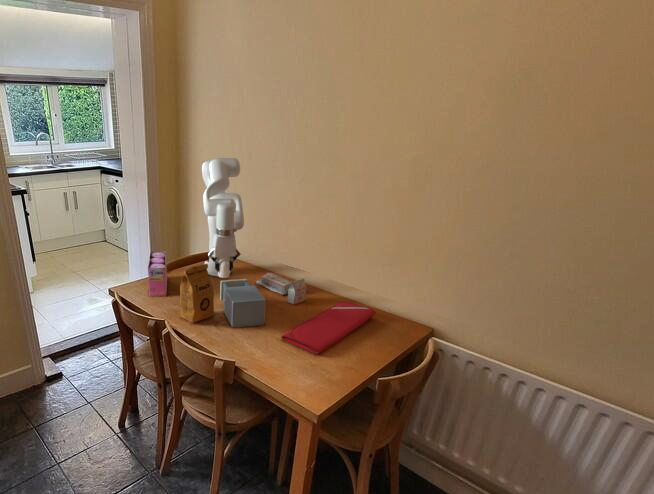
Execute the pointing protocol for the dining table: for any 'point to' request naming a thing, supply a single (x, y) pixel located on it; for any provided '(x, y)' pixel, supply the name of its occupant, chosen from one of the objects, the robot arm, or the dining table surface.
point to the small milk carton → (297, 292)
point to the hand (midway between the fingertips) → (223, 269)
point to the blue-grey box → (244, 306)
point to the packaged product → (275, 283)
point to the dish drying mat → (328, 327)
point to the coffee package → (196, 294)
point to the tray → (231, 285)
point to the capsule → (224, 268)
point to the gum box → (157, 274)
